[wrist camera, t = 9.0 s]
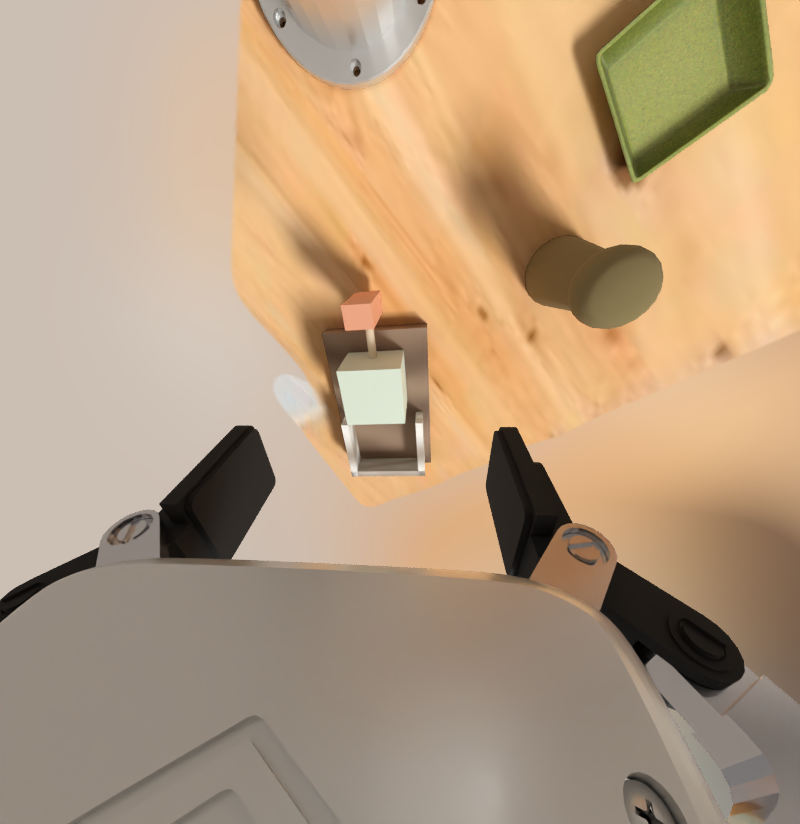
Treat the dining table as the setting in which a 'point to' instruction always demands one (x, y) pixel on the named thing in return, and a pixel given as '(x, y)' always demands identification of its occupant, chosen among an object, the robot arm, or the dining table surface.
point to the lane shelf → (409, 442)
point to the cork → (594, 280)
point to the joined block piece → (371, 369)
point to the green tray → (683, 74)
